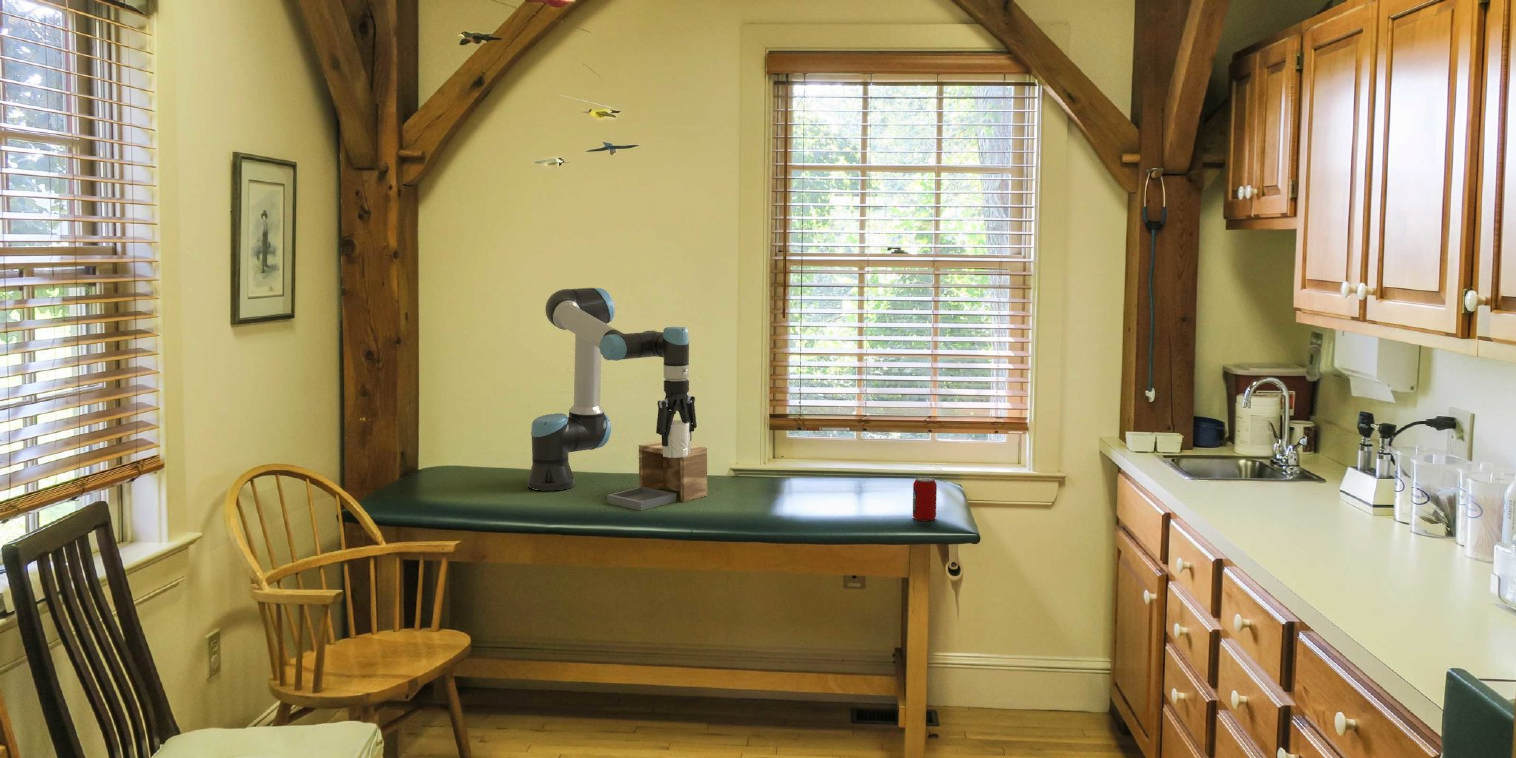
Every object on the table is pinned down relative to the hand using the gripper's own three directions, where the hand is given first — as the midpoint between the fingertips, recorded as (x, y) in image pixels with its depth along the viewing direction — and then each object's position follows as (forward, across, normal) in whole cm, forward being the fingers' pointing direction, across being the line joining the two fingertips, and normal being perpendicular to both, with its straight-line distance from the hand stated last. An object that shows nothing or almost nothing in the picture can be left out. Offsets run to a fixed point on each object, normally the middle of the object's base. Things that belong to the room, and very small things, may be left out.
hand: (676, 454), depth 346 cm
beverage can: (+17, +39, -63) cm, 76 cm away
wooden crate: (+17, +13, +15) cm, 26 cm away
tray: (+17, 0, +15) cm, 23 cm away
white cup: (+1, 0, 0) cm, 1 cm away
